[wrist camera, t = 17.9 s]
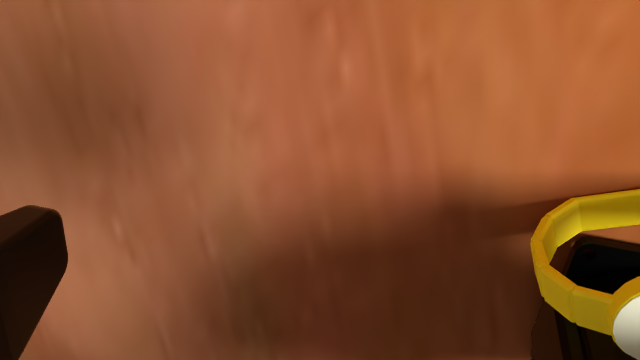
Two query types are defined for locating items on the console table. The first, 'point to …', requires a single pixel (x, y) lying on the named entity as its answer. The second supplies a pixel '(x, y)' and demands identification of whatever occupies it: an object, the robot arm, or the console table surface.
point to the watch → (579, 302)
